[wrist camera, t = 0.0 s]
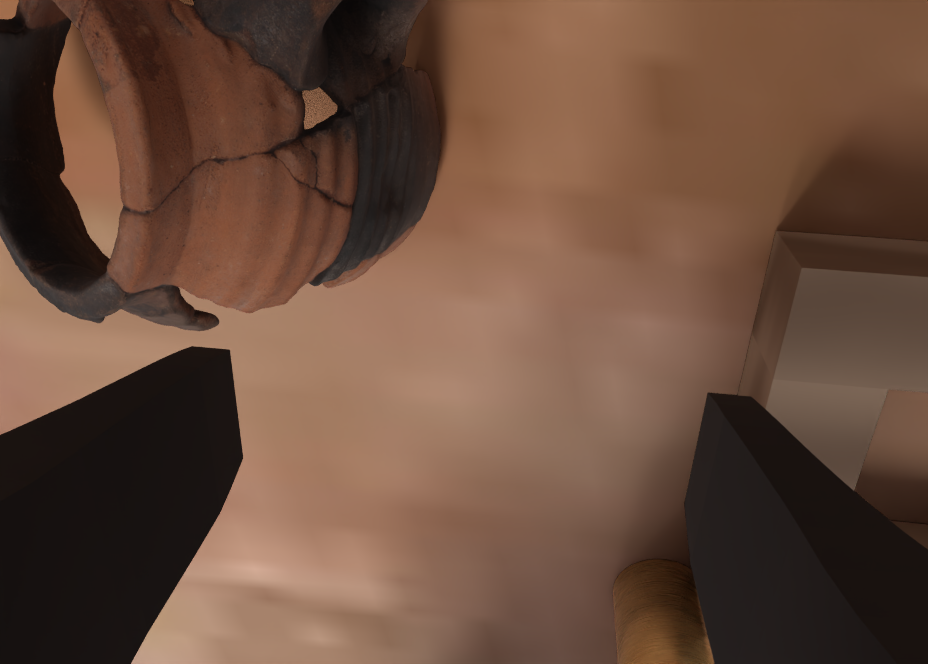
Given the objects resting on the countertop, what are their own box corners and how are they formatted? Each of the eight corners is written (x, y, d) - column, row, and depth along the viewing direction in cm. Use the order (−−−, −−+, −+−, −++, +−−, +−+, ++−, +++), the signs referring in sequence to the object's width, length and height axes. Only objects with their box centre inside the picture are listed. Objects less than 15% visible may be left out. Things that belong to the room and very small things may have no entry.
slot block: (1014, 608, 25) (1058, 674, 22) (696, 573, 25) (708, 633, 23) (1192, 259, 19) (1274, 302, 17) (775, 230, 20) (802, 267, 18)
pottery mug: (345, 339, 24) (85, 436, 17) (193, 99, 25) (-99, 108, 19) (629, 54, 16) (349, 45, 10) (389, -269, 17) (8, -460, 11)
